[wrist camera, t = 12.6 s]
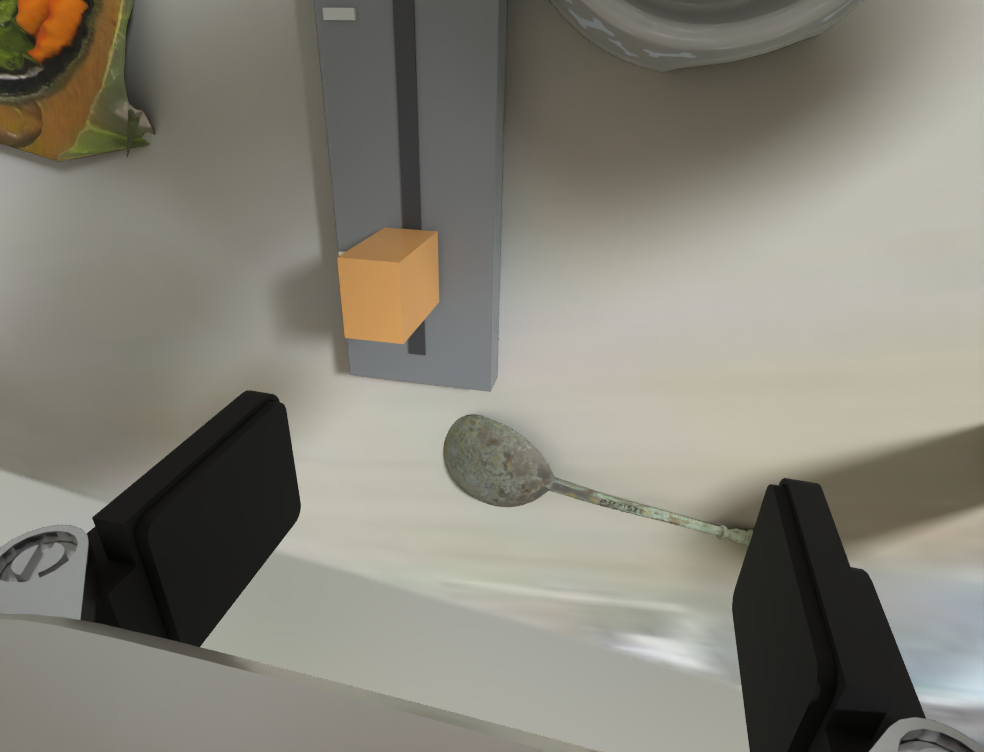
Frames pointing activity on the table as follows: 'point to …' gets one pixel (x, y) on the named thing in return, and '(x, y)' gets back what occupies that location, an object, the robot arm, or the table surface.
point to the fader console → (422, 165)
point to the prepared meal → (66, 78)
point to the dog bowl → (698, 27)
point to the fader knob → (389, 284)
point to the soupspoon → (534, 475)
